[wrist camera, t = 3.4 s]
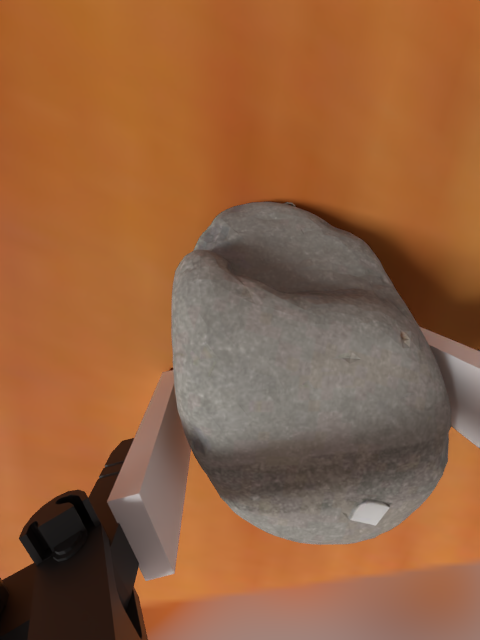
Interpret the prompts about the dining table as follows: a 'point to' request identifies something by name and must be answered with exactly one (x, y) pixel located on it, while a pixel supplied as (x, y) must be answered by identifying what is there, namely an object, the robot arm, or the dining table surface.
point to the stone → (304, 378)
